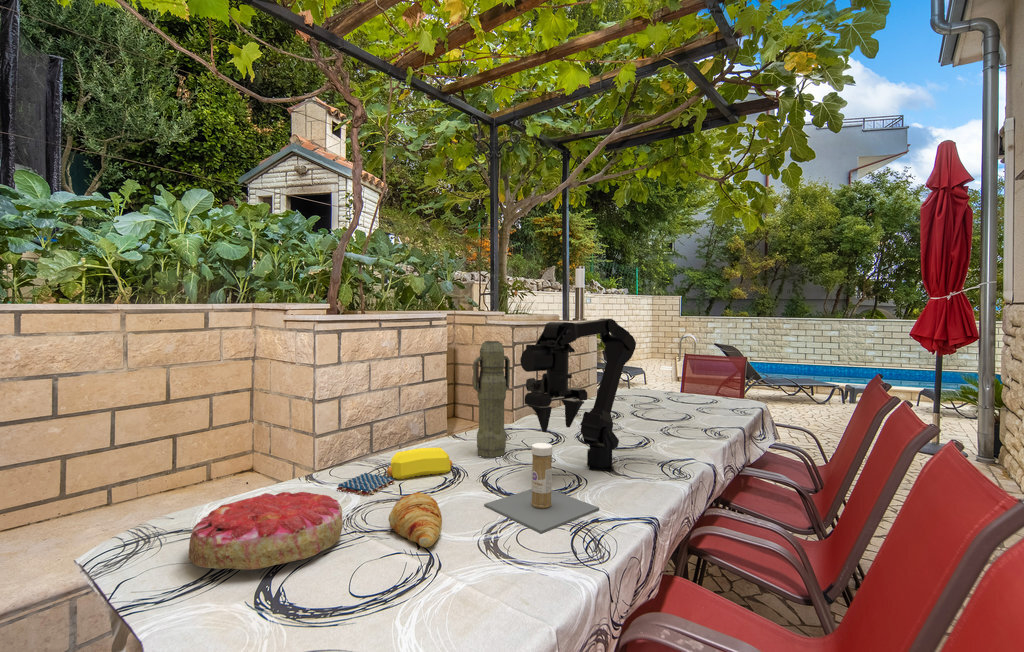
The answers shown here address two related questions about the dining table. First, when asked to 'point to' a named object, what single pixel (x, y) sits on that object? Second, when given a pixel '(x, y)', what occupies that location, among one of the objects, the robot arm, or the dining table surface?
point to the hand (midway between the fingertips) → (556, 429)
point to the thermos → (491, 398)
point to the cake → (266, 531)
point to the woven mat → (365, 484)
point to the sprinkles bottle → (541, 475)
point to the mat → (541, 510)
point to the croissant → (417, 519)
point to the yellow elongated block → (419, 463)
